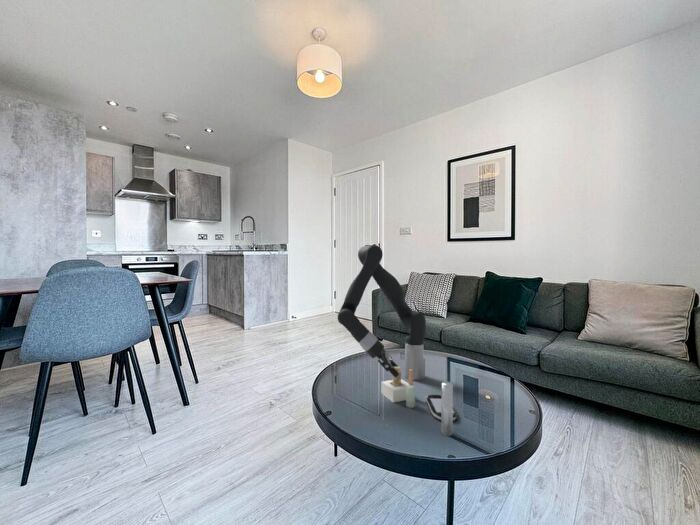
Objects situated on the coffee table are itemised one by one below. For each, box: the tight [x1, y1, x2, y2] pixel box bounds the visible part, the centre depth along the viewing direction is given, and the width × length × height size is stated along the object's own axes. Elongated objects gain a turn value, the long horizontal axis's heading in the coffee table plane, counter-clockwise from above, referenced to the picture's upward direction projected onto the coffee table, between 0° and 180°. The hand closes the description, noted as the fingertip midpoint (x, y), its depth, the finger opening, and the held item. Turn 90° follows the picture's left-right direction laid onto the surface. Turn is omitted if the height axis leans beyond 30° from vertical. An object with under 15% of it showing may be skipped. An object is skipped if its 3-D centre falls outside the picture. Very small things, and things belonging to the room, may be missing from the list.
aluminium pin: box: [440, 380, 454, 437], centre depth 98 cm, size 4×4×16 cm
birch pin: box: [392, 365, 402, 387], centre depth 126 cm, size 4×4×12 cm
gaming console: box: [425, 394, 458, 422], centre depth 114 cm, size 19×9×3 cm, turn 176°
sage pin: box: [405, 385, 416, 409], centre depth 117 cm, size 4×4×8 cm
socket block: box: [380, 369, 414, 403], centre depth 126 cm, size 10×10×12 cm
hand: (397, 372), depth 126 cm, fingers open, 8 cm apart
